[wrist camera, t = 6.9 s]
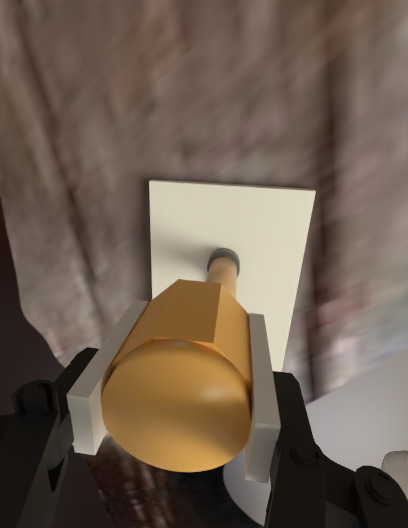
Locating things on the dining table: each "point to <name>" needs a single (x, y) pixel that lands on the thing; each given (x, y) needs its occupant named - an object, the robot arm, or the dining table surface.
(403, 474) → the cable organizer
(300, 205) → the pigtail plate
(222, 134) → the dining table surface
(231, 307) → the domed octagonal knob
